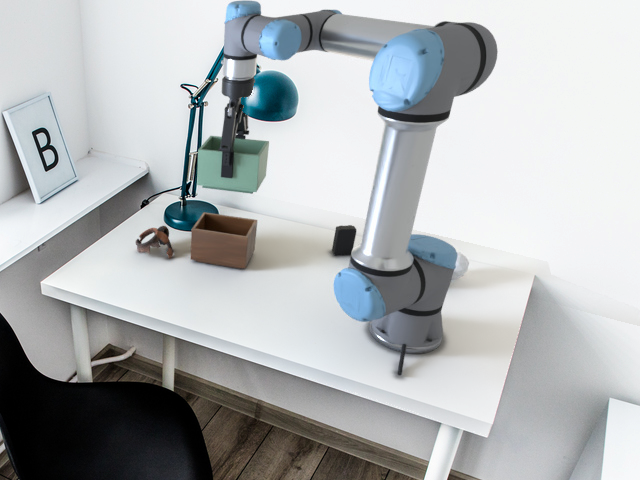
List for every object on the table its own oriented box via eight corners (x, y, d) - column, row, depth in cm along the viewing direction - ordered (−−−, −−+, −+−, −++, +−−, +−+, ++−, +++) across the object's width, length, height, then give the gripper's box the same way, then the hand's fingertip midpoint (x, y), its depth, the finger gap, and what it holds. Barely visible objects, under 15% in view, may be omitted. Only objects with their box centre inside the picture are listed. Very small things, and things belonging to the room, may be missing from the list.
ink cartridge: (349, 251, 179) (354, 224, 174) (351, 255, 177) (357, 228, 173) (331, 252, 179) (336, 225, 174) (333, 255, 177) (338, 229, 173)
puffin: (442, 250, 169) (418, 273, 163) (467, 244, 163) (443, 268, 157) (453, 272, 170) (430, 295, 165) (478, 267, 164) (455, 291, 159)
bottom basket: (244, 271, 171) (248, 237, 166) (190, 262, 176) (191, 229, 170) (254, 253, 180) (257, 219, 174) (201, 244, 184) (203, 212, 178)
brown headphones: (169, 265, 176) (154, 243, 172) (142, 272, 182) (127, 250, 178) (183, 237, 183) (169, 214, 178) (157, 243, 189) (142, 222, 184)
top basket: (256, 196, 158) (259, 155, 152) (196, 188, 163) (198, 149, 157) (265, 179, 167) (269, 141, 161) (208, 173, 171) (210, 135, 165)
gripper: (235, 64, 160) (229, 151, 172) (209, 88, 142) (205, 184, 155) (265, 65, 157) (257, 154, 170) (242, 90, 140) (235, 187, 152)
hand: (232, 168), depth 162 cm, fingers closed on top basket, 11 cm apart
